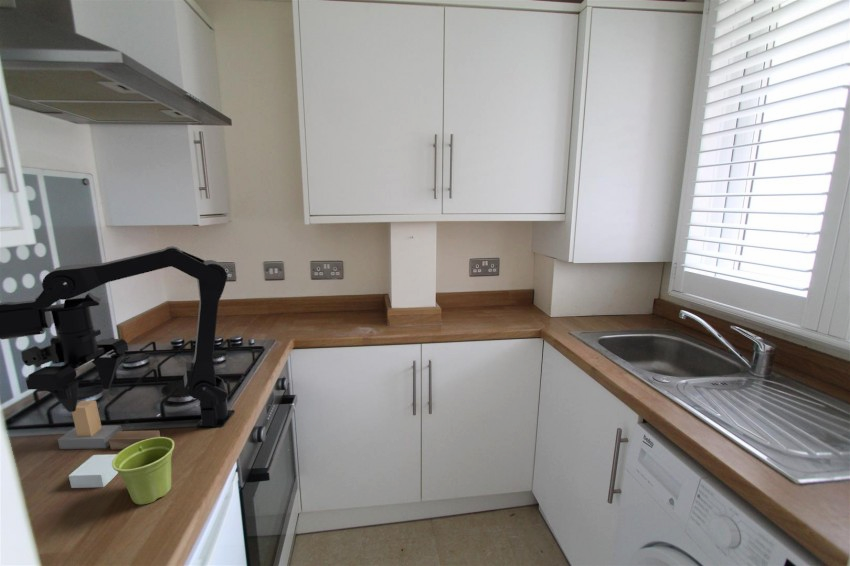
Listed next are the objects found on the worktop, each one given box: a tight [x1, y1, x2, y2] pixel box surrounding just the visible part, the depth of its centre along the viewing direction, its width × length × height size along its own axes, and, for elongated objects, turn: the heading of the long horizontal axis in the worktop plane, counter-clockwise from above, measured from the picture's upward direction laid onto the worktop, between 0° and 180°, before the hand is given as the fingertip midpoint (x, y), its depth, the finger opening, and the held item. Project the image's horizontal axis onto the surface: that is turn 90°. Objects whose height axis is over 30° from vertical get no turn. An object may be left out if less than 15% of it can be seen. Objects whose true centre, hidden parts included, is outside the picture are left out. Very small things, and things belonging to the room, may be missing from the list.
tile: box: [68, 453, 119, 489], centre depth 77 cm, size 6×6×3 cm
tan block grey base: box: [57, 400, 123, 450], centre depth 88 cm, size 5×10×10 cm, turn 91°
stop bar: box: [109, 430, 161, 450], centre depth 87 cm, size 3×9×2 cm, turn 91°
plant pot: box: [112, 436, 175, 505], centre depth 72 cm, size 9×9×9 cm
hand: (90, 399), depth 82 cm, fingers open, 9 cm apart
